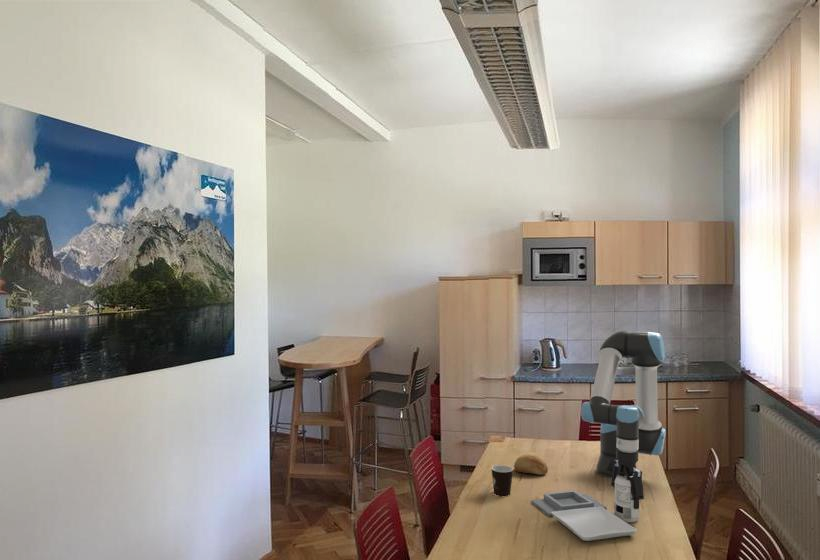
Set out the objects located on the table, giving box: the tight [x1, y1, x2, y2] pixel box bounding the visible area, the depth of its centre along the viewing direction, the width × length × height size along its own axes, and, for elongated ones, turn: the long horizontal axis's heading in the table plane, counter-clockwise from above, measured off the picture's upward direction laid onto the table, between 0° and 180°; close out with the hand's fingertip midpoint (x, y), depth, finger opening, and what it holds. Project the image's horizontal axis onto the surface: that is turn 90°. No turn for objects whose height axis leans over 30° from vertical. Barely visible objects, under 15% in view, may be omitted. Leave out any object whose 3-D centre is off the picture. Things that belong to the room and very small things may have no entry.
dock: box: [530, 489, 608, 518], centre depth 227 cm, size 24×14×3 cm, turn 107°
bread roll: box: [513, 454, 549, 476], centre depth 264 cm, size 10×15×8 cm, turn 64°
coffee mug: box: [490, 464, 514, 497], centre depth 241 cm, size 12×9×10 cm
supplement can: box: [614, 475, 640, 524], centre depth 215 cm, size 8×8×15 cm
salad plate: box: [551, 507, 638, 542], centre depth 207 cm, size 21×21×3 cm
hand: (626, 512), depth 215 cm, fingers closed on supplement can, 8 cm apart
